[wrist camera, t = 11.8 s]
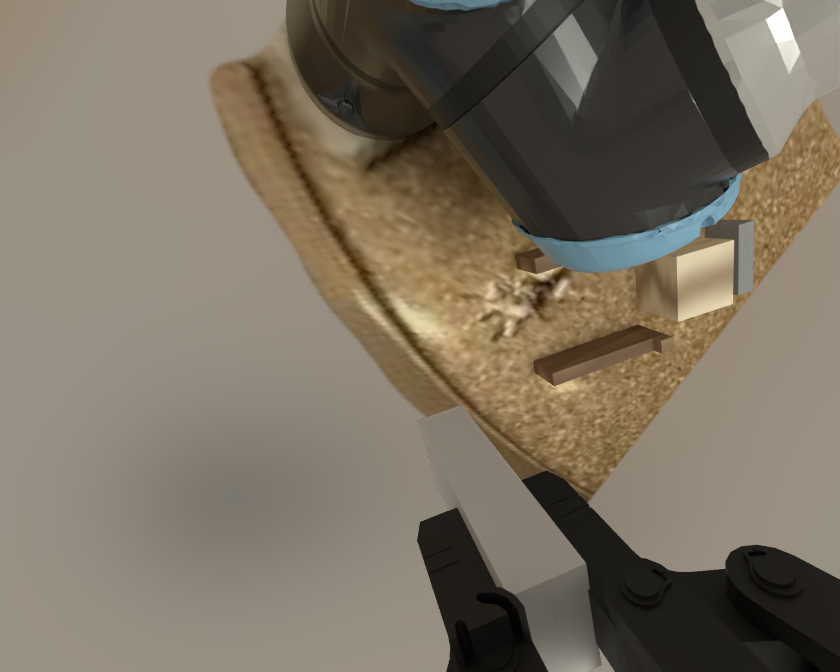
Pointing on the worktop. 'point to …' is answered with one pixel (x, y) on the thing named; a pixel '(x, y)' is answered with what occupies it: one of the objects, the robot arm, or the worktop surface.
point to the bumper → (738, 250)
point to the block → (688, 280)
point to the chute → (594, 352)
